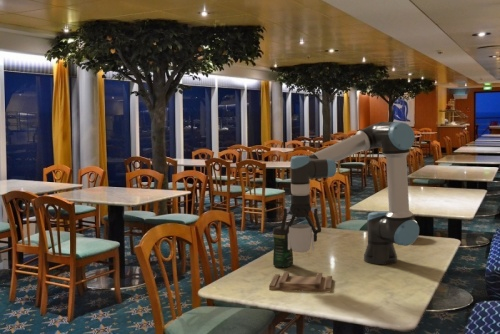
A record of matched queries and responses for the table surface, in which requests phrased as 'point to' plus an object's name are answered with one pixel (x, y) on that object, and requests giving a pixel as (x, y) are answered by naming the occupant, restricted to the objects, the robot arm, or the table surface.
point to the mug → (300, 237)
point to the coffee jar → (281, 249)
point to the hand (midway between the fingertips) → (301, 249)
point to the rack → (301, 283)
